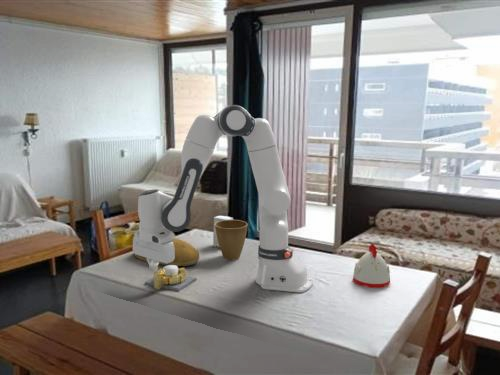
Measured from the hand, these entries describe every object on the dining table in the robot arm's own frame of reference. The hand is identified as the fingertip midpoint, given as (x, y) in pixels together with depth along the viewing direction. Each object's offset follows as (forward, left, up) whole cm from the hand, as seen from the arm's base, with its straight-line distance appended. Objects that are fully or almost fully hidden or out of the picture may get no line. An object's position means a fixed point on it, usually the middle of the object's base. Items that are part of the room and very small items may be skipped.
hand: (153, 269), depth 158 cm
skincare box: (+2, -58, -8) cm, 59 cm away
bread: (+16, -30, -8) cm, 35 cm away
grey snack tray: (-2, -8, -8) cm, 11 cm away
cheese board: (-2, -6, -6) cm, 9 cm away
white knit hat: (-73, -42, -8) cm, 84 cm away
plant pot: (-10, -44, -8) cm, 46 cm away
